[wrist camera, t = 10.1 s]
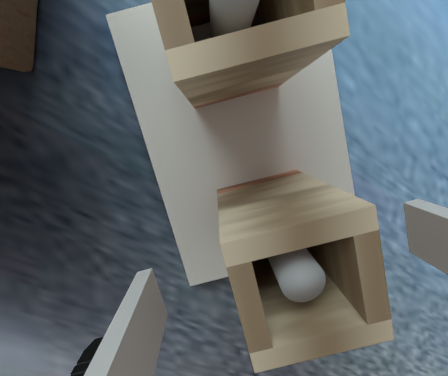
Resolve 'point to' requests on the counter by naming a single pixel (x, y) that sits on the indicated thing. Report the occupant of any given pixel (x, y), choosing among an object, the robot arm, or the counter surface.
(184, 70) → the sleeve seated
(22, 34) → the wooden block
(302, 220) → the sleeve
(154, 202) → the counter surface
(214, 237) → the pin board
